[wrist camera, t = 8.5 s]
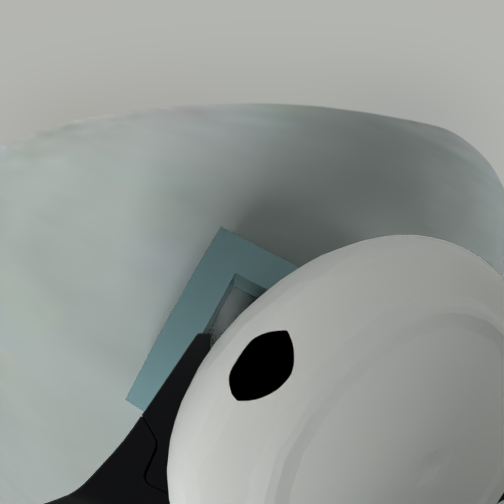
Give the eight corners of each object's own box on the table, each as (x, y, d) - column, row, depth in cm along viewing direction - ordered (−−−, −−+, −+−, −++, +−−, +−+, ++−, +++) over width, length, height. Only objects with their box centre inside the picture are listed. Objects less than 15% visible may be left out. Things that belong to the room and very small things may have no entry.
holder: (291, 457, 14) (305, 480, 11) (144, 388, 15) (125, 399, 12) (361, 319, 17) (389, 314, 14) (221, 247, 18) (221, 226, 15)
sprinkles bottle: (317, 346, 15) (566, 324, 2) (278, 419, 13) (432, 596, 1) (242, 307, 15) (325, 129, 2) (200, 382, 14) (84, 555, 1)
